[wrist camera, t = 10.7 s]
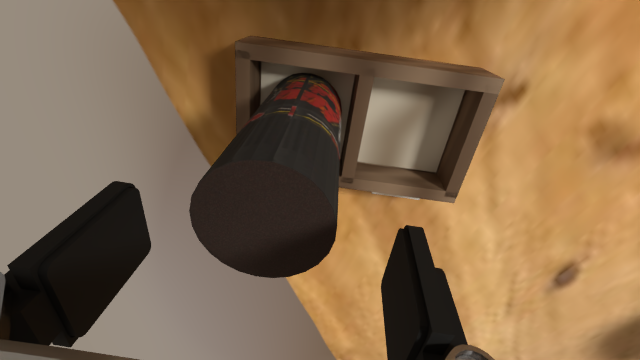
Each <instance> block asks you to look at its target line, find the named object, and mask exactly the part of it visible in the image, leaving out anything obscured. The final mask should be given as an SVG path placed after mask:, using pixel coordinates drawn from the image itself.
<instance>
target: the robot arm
mask: <svg viewBox="0 0 640 360" xmlns="http://www.w3.org/2000/svg"><path fill="white" fill-rule="evenodd" d="M150 249H151V241H150V237H149V232H148V228H147V224H146V219H145V215H144V210H143V206H142V201H141V197H140V192H139V190H138V189H137V188H135V186H134V185H133V184H131V183H125V182H118V181H114V182H112V183H111V184H109V185H108V186H107V187H106V188H104V189H103V190H102V191H101V192H99V193H98V194H97V195H96V196H94V197H93V198H92V199H90V200H89V201H88V202H87V203H85V204H84V205H83V206H82V207H80V208H79V209H78V210H77V211H75V212H74V213H73V214H72V215H70V216H69V217H68V218H67V219H65V220H64V221H63V222H62V223H60V224H59V225H58V226H57V227H55V228H54V229H53V230H51V231H50V232H49V233H48V234H46V235H45V236H44V237H43V238H41V239H40V240H39V241H38V242H36V243H35V244H34V245H33V246H31V247H30V248H29V249H27V250H26V251H25V252H24V253H23V254H21V255H20V256H19V257H17V258H16V259H15V260H14V261H12V262H11V263H10V264H9V265H8V267H9V269H10V270H9V271H8V272H7V273H6V274H5V275H3V274H2V273H1V272H0V360H138V359H132V358H125V357H119V356H112V355H106V354H99V353H93V352H87V351H80V350H74V349H67V348H60V347H54V346H49V345H50V344H51V343H53V345H59V346H65V347H71V346H72V345H73V344H74V343H75V341H76V340H77V339H78V338H79V337H82V336H83V335H85V334H86V333H87V332H88V330H89V329H90V328H91V326H92V325H93V324H94V323H95V321H96V320H97V319H98V317H99V316H100V315H101V314H102V312H103V311H104V310H105V309H106V307H107V306H108V305H109V303H110V302H111V301H112V300H113V298H114V297H115V296H116V295H117V293H118V292H119V291H120V289H121V288H122V287H123V285H124V284H125V283H126V282H127V280H128V279H129V278H130V277H131V275H132V274H133V273H134V271H135V270H136V269H137V267H138V266H139V265H140V264H141V262H142V261H143V260H144V259H145V257H146V256H147V255H148V253H149V251H150ZM381 293H382V304H383V314H384V325H385V336H386V347H387V357H388V360H494V359H493V358H492V357H491V356H490V355H489V354H488V353H486V352H485V351H483V350H481V349H480V348H477V347H474V346H472V345H468V344H467V341H466V338H465V335H464V332H463V329H462V325H461V322H460V319H459V316H458V313H457V310H456V307H455V304H454V301H453V298H452V294H451V291H450V288H449V285H448V282H447V279H446V276H445V273H444V271H443V270H442V269H440V268H435V267H434V263H433V260H432V256H431V253H430V250H429V246H428V243H427V239H426V236H425V233H424V230H423V228H422V227H415V226H409V225H406V226H405V227H404V229H401V228H400V229H399V230H398V233H397V236H396V239H395V242H394V245H393V248H392V251H391V254H390V257H389V260H388V263H387V266H386V269H385V272H384V275H383V279H382V283H381Z"/></svg>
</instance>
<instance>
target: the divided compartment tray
mask: <svg viewBox="0 0 640 360" xmlns="http://www.w3.org/2000/svg"><path fill="white" fill-rule="evenodd" d="M235 65H236V131H237V134H238V133H239V132H240V130H241V129H242V128H243V127H244V125H245V124H246V123H247V122H248V120H249V119H250V118H251V117H252V115H253V114H254V113H255V112H256V110H257V109H258V108H259V107H260V105H261V104H262V103H263V102H264V100H265V99H266V98H267V97H268V95H269V94H270V93H271V92H272V91H273V89H274V88H275V87H276V86H277V85H278V84H279V83H280V82H281V81H282V80H283V79H284V78H286V77H288V76H290V75H292V74H297V73H312V74H315V75H317V76H320V77H322V78H324V79H325V80H327V81H328V82H329V83H330V84H331V85H332V86H333V87H334V89H335V90H336V91H337V93H338V96H339V98H340V101H341V107H342V116H341V140H340V164H339V187H341V188H348V189H355V190H363V191H370V192H372V193H373V194H380V195H387V196H395V197H402V198H409V199H416V200H419V199H428V200H435V201H442V202H449V203H454V202H455V200H456V197H457V195H458V192H459V190H460V187H461V185H462V182H463V180H464V178H465V175H466V173H467V170H468V168H469V165H470V163H471V160H472V158H473V156H474V153H475V151H476V148H477V146H478V143H479V141H480V138H481V136H482V134H483V131H484V129H485V126H486V124H487V121H488V119H489V116H490V114H491V112H492V109H493V107H494V104H495V102H496V99H497V97H498V94H499V92H500V90H501V87H502V85H503V82H504V80H505V79H503V78H501V77H499V76H497V75H495V74H493V73H491V72H489V71H487V70H485V69H483V68H478V67H470V66H463V65H456V64H449V63H442V62H435V61H427V60H420V59H413V58H406V57H399V56H392V55H384V54H377V53H370V52H363V51H356V50H349V49H342V48H334V47H327V46H320V45H313V44H306V43H299V42H291V41H284V40H277V39H270V38H263V37H256V36H249V37H246V38H244V39H241V40H238V41H236V42H235Z"/></svg>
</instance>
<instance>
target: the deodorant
mask: <svg viewBox="0 0 640 360" xmlns="http://www.w3.org/2000/svg"><path fill="white" fill-rule="evenodd" d="M341 116H342V107H341V101H340V98H339V96H338V93H337V91H336V90H335V89H334V87H333V86H332V85H331V84H330V83H329V82H328V81H327V80H325V79H324V78H322V77H320V76H317V75H315V74H312V73H297V74H292V75H290V76H288V77H286V78H284V79H283V80H282V81H281V82H280V83H279V84H278V85H277V86H276V87H275V88H274V89H273V91H272V92H271V93H270V94H269V95H268V97H267V98H266V99H265V100H264V102H263V103H262V104H261V105H260V107H259V108H258V109H257V110H256V112H255V113H254V114H253V115H252V117H251V118H250V119H249V120H248V122H247V123H246V124H245V125H244V127H243V128H242V129H241V130H240V132H239V133H238V134H237V135H236V137H235V138H234V139H233V140H232V142H231V143H230V144H229V145H228V147H227V148H226V149H225V150H224V152H223V153H222V154H221V155H220V157H219V158H218V159H217V160H216V162H215V163H214V164H213V165H212V167H211V168H210V169H209V170H208V172H207V173H206V174H205V175H204V176H203V178H202V179H201V180H200V182H199V183H198V185H197V187H196V189H195V191H194V193H193V194H192V197H191V204H190V210H189V211H190V217H191V223H192V227H193V229H194V231H195V233H196V235H197V237H198V239H199V241H200V242H201V243H202V244H203V245H204V247H205V248H206V249H207V250H208V251H209V252H210V253H211V254H212V255H213V256H214V257H216V258H217V259H218V260H220V261H221V262H222V263H224V264H226V265H228V266H230V267H232V268H234V269H236V270H238V271H240V272H243V273H247V274H250V275H254V276H259V277H269V278H277V277H290V276H293V275H296V274H300V273H303V272H306V271H307V270H309V269H311V268H313V267H314V266H316V265H318V264H319V263H320V262H321V261H322V260H323V259H324V258H325V257H326V256H327V255H328V254H329V252H330V250H331V248H332V246H333V244H334V242H335V237H336V229H337V213H338V188H339V164H340V140H341Z"/></svg>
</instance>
